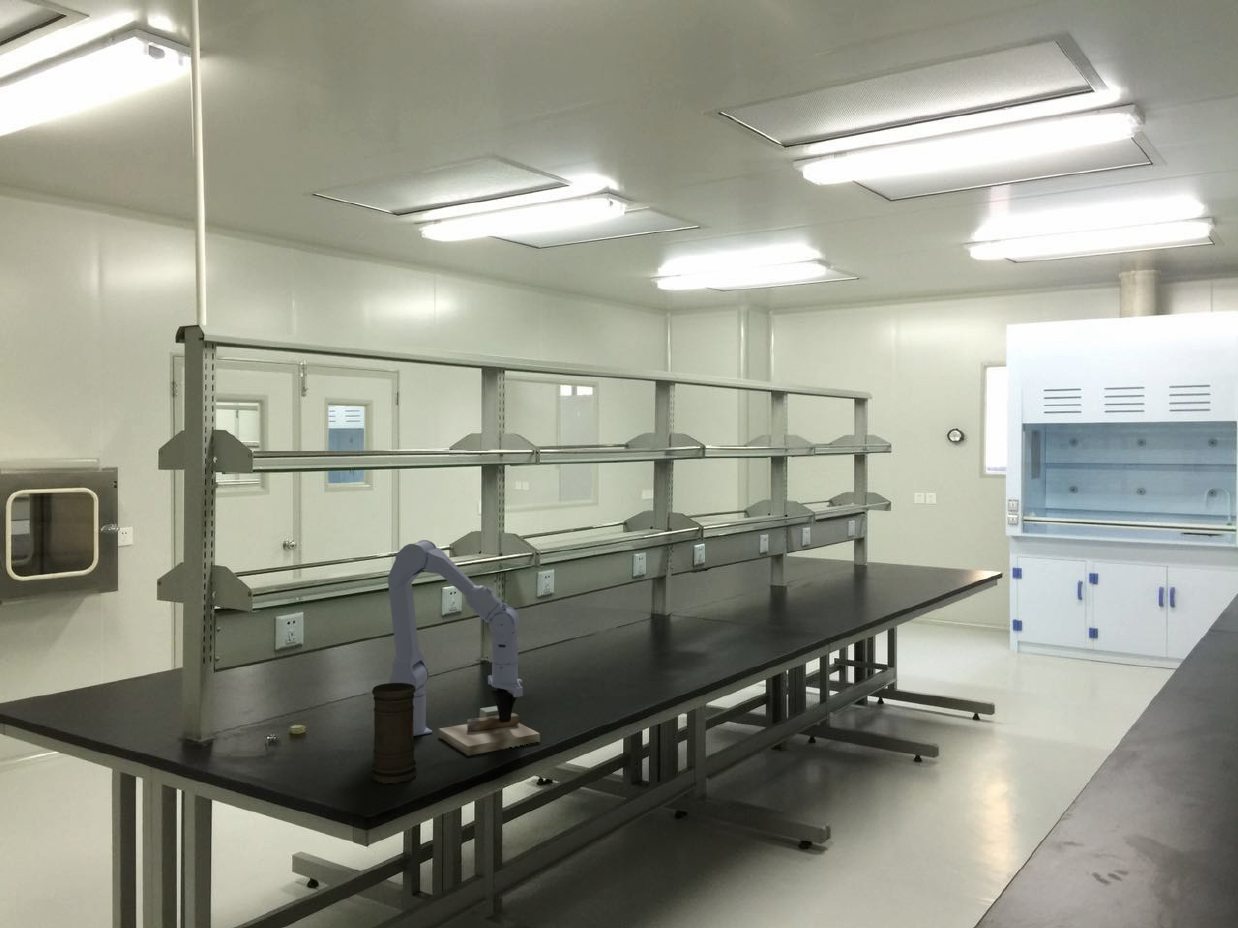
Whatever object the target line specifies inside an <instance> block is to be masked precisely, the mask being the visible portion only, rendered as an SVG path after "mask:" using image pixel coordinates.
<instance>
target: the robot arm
mask: <svg viewBox="0 0 1238 928" xmlns="http://www.w3.org/2000/svg"><path fill="white" fill-rule="evenodd" d="M422 572H424V573H426V574H427V573H429V574H437V575H440V576H441V577H443V578H444V580H446V581H447V582H448V583H449V584H451V585H452V586H453V587H454V588H455V589H457V590H458V591H459V592H460V593H461V594H463V595H464V597H465V602H466V603H465V604H466V605H467V606H468V607H469V608H470V609H471V611H472V612H474V613H475V614H476V615H477V616H478V617H480V618H481V619H482V620H483V621H484V622H485V623H486V624H488V628H489V631H490V633H491V634H492V642H491V643H492V645H491V647H492V648H491V651H492V652H491V655H492V656H491V657H492V660H491V661H492V662H491V663H492V664H491V665H492V666H491V667H492V668H491V671H492V673H491V674H490V675H487V685H489V686H490V685H491V687H492V688H497V689H496V690H492V691H491V692H490V693H491V696H492V698H493V701H494V702H495V704H496V705H495V706H497V709H498V713H499V719H500V722H501V723H504V722H510V720H511V714H512V713H513V712H512V711H513V707H514V705H515V703H516V700H517V699H518V698H519V697H523V696H524V695H523V694H524V692H523V691H524V687H523V686H522V685H521V684H522V683H523V680H522V679H521V678H518V676H519V674H518V672H519V671H518V670H519V669H518V667H519V666H518V665H519V663H518V661H519V660H518V659H519V658H518V655H519V653H518V648H519V646H518V642H519V641H518V631H517V629H518V628H519V626H520V624H521V617H520V615H519V612H517V610H516V609H515V608H514V607H511V606H508V604H507V603H506V602H502V601H501V600H500V599H499V598H498V597H497V596H496V595H495V594H494V593H493V589H492V587H490V586H488V587H486V586H485V585H484V584H483V585H476V584H475V583H474V581H472V580H471V579H470V578H469V576H467V575H466V574H465V573H464V572H463V571H462V570H461V569H460V568H459V566H458V565H456V564H455V563H454V561H452V560H451V559H450V557H448V555H447V554H446V553H445V551H443V550H442V549H441V548H440V547H437V545H436V544H435V543H433V542H432V541H430V540H427V539H422V540H419V541H417V542H414V543H408V544H406V545H404V546H403V547H401V549H400V550H399V551H398V552H397V553H396V554H395V559H394V562H393V565H392V567H391V569H390V571H389V573H388V575H387V584H388V594H389V601H390V602H389V604H390V613H391V620H392V632H393V639H394V648H395V655H394V659H393V662H392V664H391V666H392V671H391V672H392V673H391V676H390V679H389V683H408V684H412V685H414V686H415V689H416V691H415V693H414V699H413V706H414V709H413V737H414V736H421V735H426V734H427V735H428V734H432V733H433V730H431V729H430V728H428V727H427V726H426V723H427V722H426V719H427V718H426V717H427V716H426V715H427V714H426V713H427V712H426V706H427V705H426V704H427V700H426V699H427V698H426V697H427V696H426V695H427V694H426V693H427V691H426V688H425V685H426V684H427V683H428V681H429V678H430V671H429V668H428V667H427V665H426V663H425V660H424V655H423V654H422V651H421V650H420V648H419V647H420V646H419V639H418V629H417V619H416V612H415V611H416V610H415V603H414V602H415V601H414V594H413V593H414V592H413V585H412V584H413V582H414V581H415V579H417V577H418V576H419V575H420V574H421V573H422Z"/></svg>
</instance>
